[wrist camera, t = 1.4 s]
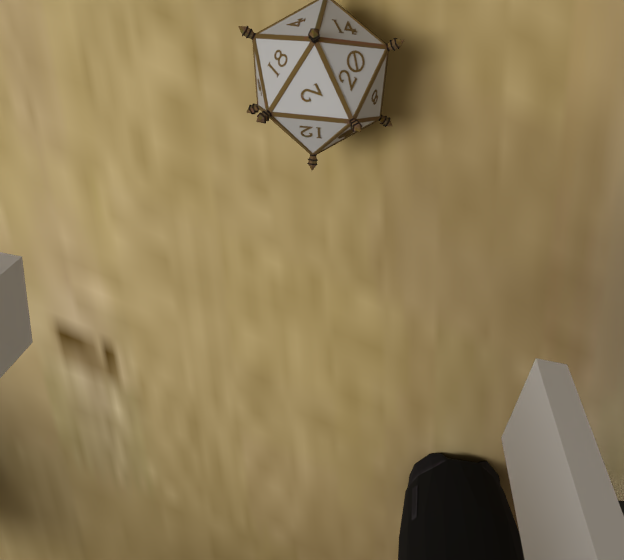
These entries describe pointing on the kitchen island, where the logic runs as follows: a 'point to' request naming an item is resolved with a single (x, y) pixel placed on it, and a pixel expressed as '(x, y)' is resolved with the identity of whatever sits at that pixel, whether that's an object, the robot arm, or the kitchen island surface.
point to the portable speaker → (457, 513)
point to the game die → (319, 75)
